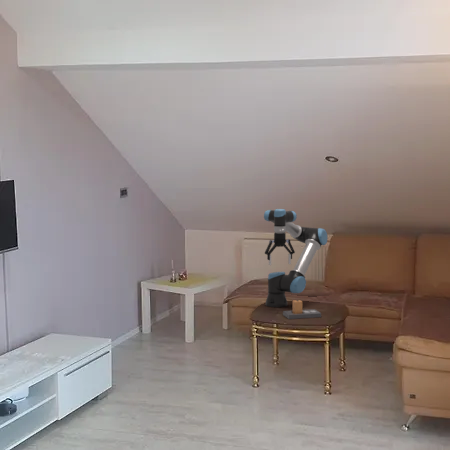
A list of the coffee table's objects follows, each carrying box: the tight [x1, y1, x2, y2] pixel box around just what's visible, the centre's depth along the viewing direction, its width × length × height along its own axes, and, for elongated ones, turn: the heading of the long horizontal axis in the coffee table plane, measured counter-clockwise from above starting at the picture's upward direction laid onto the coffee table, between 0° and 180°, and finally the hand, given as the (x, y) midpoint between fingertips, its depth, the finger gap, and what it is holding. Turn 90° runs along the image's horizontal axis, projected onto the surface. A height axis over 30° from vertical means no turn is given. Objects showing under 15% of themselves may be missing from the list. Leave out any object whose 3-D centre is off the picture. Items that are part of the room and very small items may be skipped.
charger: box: [291, 299, 303, 314], centre depth 445 cm, size 5×5×10 cm
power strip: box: [282, 309, 322, 320], centre depth 446 cm, size 12×22×3 cm, turn 103°
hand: (279, 264), depth 456 cm, fingers open, 13 cm apart
